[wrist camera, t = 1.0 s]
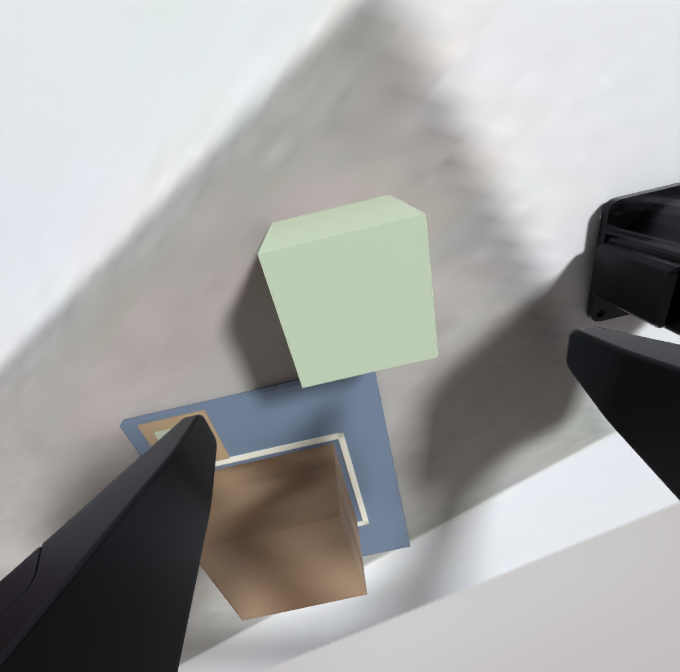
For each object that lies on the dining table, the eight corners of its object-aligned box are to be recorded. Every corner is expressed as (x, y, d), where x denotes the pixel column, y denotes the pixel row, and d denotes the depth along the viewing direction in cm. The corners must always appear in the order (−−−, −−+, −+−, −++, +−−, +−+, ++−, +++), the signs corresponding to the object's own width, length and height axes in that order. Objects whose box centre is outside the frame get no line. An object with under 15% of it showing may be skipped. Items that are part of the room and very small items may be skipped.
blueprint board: (372, 363, 20) (374, 369, 19) (408, 540, 28) (410, 548, 28) (123, 420, 20) (118, 428, 20) (233, 577, 29) (231, 586, 28)
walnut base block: (333, 443, 22) (340, 516, 18) (356, 518, 26) (367, 594, 21) (212, 470, 22) (188, 549, 18) (253, 541, 26) (242, 620, 22)
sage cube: (388, 194, 16) (426, 213, 11) (403, 302, 18) (438, 356, 14) (272, 222, 16) (257, 254, 11) (303, 325, 18) (302, 387, 14)
